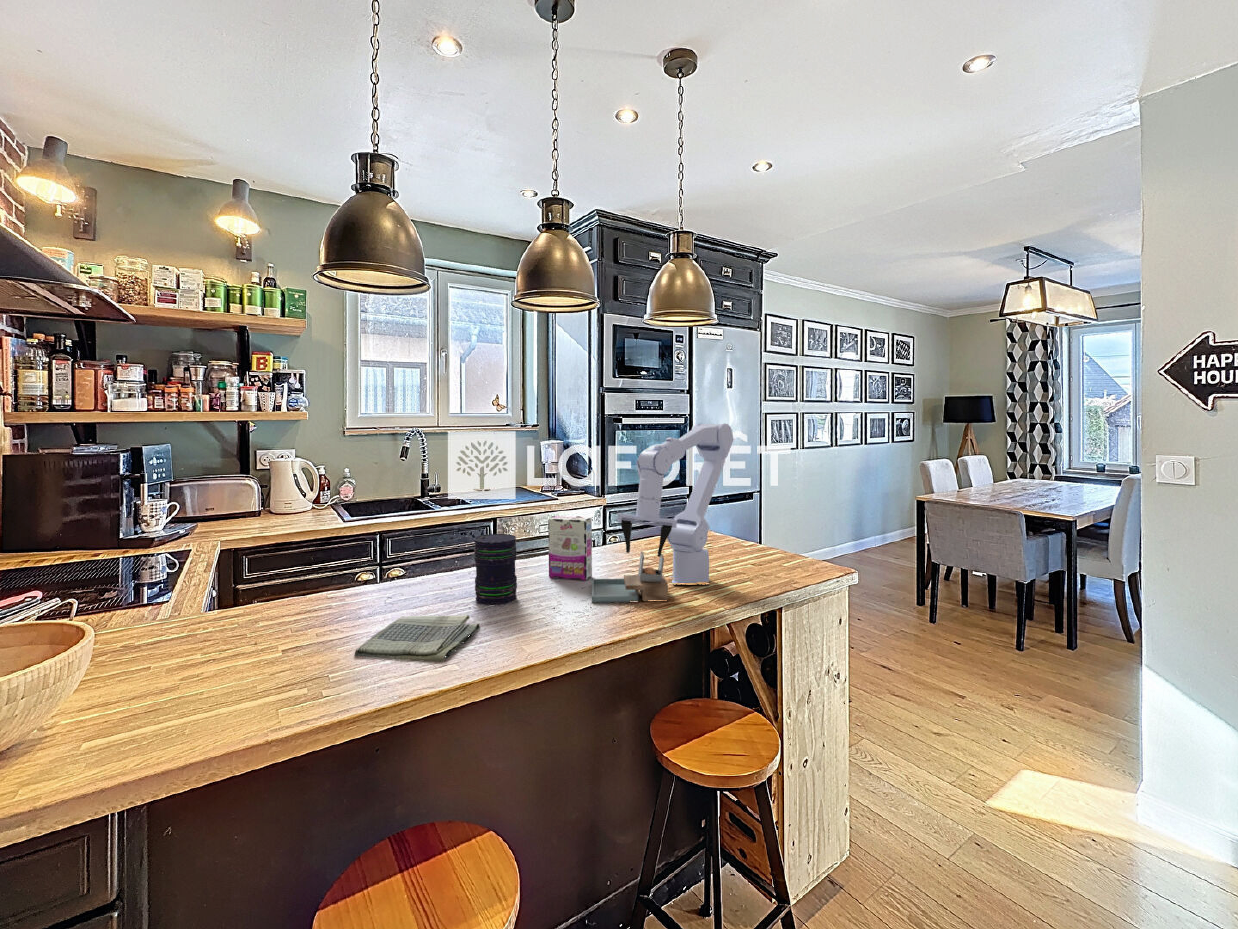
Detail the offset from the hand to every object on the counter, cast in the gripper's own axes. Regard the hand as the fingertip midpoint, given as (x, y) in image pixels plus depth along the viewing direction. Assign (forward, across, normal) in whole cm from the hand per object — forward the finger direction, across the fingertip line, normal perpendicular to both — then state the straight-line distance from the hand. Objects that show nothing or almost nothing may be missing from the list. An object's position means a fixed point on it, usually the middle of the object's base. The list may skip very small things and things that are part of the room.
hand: (643, 554), depth 142 cm
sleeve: (+6, +2, 0) cm, 6 cm away
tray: (+11, -6, +2) cm, 13 cm away
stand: (+10, +2, +1) cm, 10 cm away
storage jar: (+15, -34, -5) cm, 37 cm away
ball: (+4, +2, 0) cm, 5 cm away
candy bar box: (+11, -20, +16) cm, 28 cm away
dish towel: (+19, -40, -32) cm, 54 cm away
